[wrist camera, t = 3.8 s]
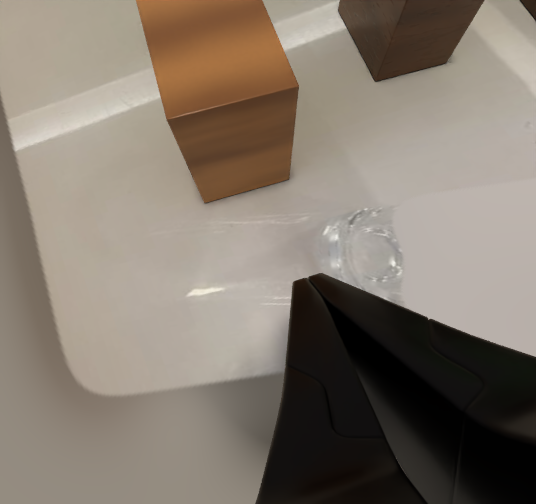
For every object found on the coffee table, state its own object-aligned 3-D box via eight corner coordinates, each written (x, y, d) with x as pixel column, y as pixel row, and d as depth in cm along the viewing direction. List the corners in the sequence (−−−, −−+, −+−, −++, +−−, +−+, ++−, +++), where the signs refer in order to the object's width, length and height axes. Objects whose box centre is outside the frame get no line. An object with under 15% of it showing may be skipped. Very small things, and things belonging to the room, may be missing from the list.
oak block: (289, 179, 22) (299, 85, 14) (204, 203, 21) (166, 119, 13) (256, 90, 24) (249, -32, 16) (179, 110, 23) (134, -6, 16)
